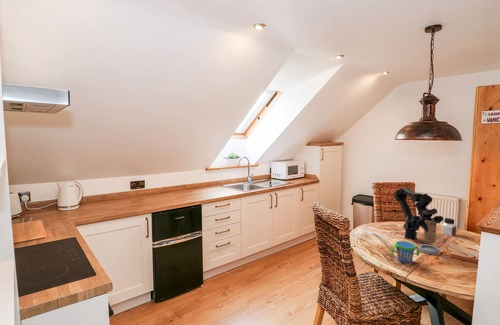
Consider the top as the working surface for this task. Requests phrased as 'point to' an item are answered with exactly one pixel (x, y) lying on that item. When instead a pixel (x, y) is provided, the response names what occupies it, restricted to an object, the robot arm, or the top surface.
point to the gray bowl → (429, 249)
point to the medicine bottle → (448, 227)
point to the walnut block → (430, 231)
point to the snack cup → (405, 251)
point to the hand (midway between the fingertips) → (431, 231)
